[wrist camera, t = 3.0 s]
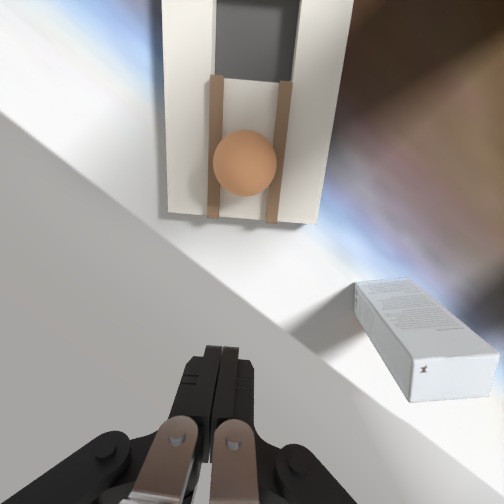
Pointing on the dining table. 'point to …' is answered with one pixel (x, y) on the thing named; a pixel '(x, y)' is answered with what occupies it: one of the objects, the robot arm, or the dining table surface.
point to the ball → (244, 163)
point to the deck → (251, 99)
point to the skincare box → (424, 342)
